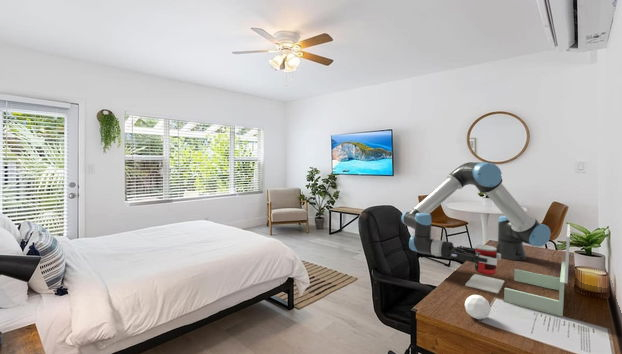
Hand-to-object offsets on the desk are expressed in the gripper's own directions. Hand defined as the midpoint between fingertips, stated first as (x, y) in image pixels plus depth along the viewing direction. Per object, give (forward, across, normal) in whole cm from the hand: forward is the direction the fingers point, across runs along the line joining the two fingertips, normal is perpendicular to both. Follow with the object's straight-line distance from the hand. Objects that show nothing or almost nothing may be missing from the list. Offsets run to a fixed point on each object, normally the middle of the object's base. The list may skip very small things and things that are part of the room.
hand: (498, 259), depth 127 cm
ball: (-1, +34, -12) cm, 36 cm away
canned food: (-5, 0, -7) cm, 8 cm away
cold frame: (+12, 0, -12) cm, 17 cm away
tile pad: (-5, 0, -12) cm, 13 cm away
